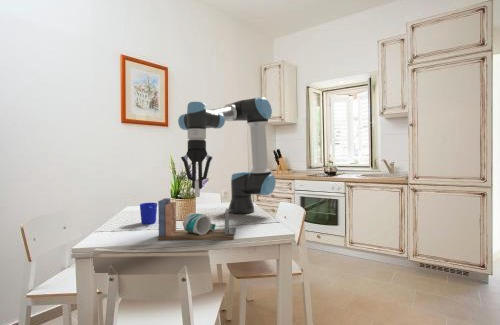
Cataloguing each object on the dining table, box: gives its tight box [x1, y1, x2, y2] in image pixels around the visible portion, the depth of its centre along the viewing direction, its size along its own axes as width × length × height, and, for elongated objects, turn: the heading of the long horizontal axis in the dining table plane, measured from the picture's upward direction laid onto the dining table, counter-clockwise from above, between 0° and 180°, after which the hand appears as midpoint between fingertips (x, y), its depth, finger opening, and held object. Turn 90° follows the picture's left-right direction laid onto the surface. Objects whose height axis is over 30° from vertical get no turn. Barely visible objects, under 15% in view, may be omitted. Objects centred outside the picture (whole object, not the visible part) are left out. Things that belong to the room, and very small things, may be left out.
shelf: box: [157, 197, 235, 241], centre depth 120 cm, size 12×30×15 cm, turn 91°
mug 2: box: [182, 212, 216, 235], centre depth 121 cm, size 8×12×8 cm
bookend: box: [224, 208, 237, 236], centre depth 120 cm, size 9×4×9 cm, turn 1°
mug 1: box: [139, 202, 158, 225], centre depth 143 cm, size 8×12×10 cm
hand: (197, 196), depth 120 cm, fingers closed
